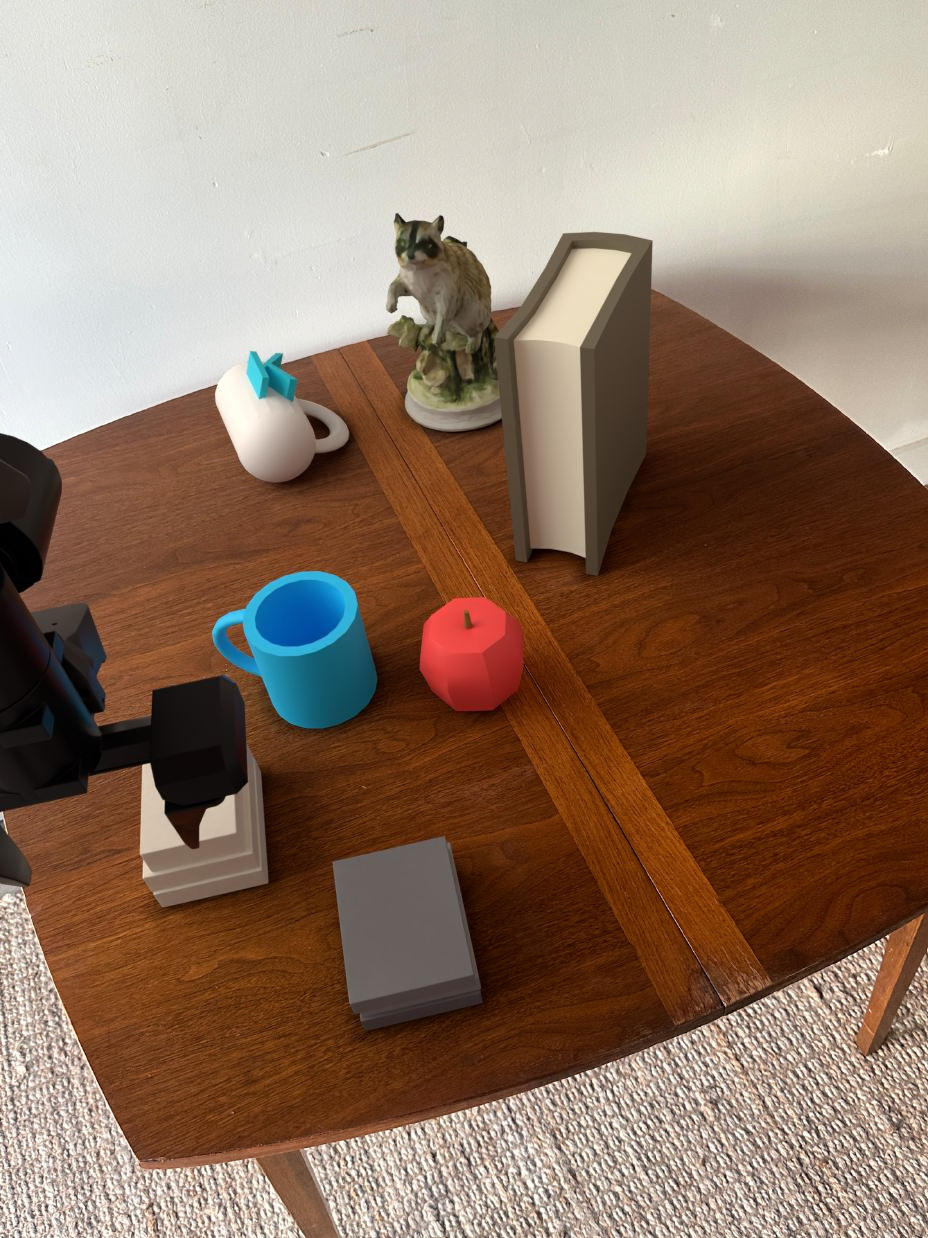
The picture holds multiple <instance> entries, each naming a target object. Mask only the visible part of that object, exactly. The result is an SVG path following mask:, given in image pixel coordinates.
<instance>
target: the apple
mask: <svg viewBox="0 0 928 1238" xmlns="http://www.w3.org/2000/svg"><path fill="white" fill-rule="evenodd" d="M524 639H525V633H524V630H523V629H522V626H521V623H520V621H519V620H518V619H517V618H516V617H514V616H513V615H511V614H510V613H508V611H506V610H505V609H503V608H502V607H500V606H499V605H498V604H496V603H495V602H493V601H492V600H490V599H489V598H487V597H485V596H481V597H480V596H479V597H478V596H477V597H454V598H452V599H451V601H448V602H447V603H446V604H445V605H443V606H442V607H441V608H439V609H438V610H436V611H435V612H434V613H432V614H431V615H430V616H429V618H428V619H427V620H426V621H425V622H424V623H423V628H422V638H421V648H420V657H419V658H420V659H419V670H420V672H421V674H422V676H423V678H424V679H425V681H426V683H427V685H428V687H429V689H430V690H431V692H432V693H433V694H434V695H435V696H437V697H438V698H439V699H441V700H442V701H443V702H444V703H445V704H447V705H448V706H449V708H451V709H453V710H454V711H455V712H478V711H479V712H482V711H483V712H484V711H493V710H495V709H496V708H498V707H499V706H500V705H501V704H502V703H504V702H505V701H506V700H508V699H509V698H510V697H511V696H512V695H514V694H515V693H516V692H517V691H519V690H520V684H521V680H522V674H523V669H524V647H525V645H524V644H525V643H524V642H525V640H524Z"/></svg>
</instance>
